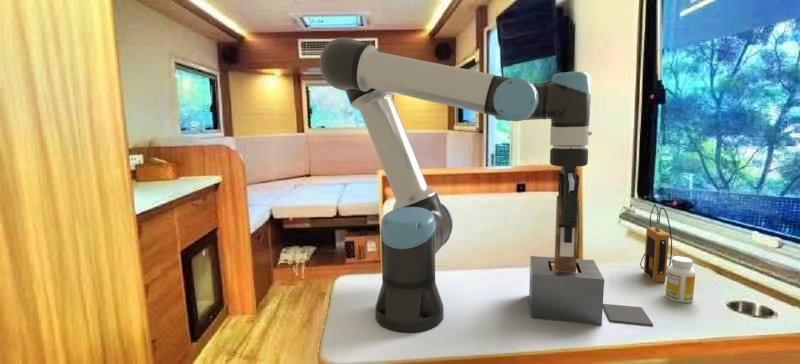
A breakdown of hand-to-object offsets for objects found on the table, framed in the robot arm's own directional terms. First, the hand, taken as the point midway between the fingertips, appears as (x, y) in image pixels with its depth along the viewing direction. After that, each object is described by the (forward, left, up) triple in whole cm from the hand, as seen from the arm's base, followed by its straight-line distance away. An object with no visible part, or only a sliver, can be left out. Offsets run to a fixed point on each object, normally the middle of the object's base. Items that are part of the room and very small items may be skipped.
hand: (565, 252), depth 91 cm
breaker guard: (0, 0, -13) cm, 13 cm away
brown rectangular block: (0, 0, -4) cm, 4 cm away
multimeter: (+29, +25, -14) cm, 41 cm away
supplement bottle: (+27, +12, -14) cm, 32 cm away
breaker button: (0, 0, -10) cm, 10 cm away
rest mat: (+13, 0, -13) cm, 18 cm away
